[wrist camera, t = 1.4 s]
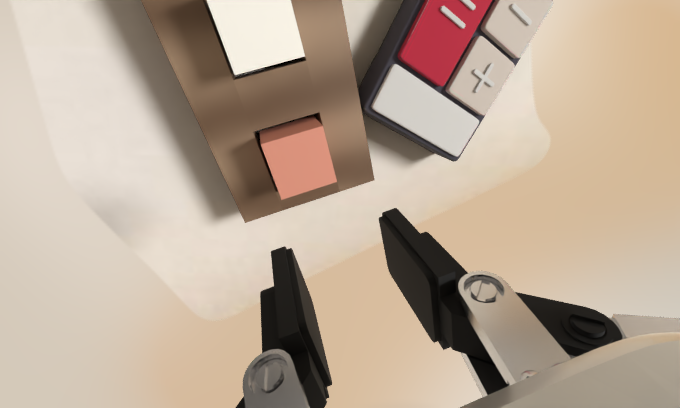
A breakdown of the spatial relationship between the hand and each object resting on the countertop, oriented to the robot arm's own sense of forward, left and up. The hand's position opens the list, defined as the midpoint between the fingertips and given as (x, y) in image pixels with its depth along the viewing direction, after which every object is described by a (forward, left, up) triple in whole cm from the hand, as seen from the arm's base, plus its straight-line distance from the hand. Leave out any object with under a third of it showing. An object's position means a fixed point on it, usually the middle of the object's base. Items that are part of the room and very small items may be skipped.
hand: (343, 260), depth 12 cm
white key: (-9, 0, -16) cm, 18 cm away
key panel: (-4, 0, -17) cm, 18 cm away
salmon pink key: (0, 0, -16) cm, 16 cm away
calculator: (-4, +15, -18) cm, 24 cm away
